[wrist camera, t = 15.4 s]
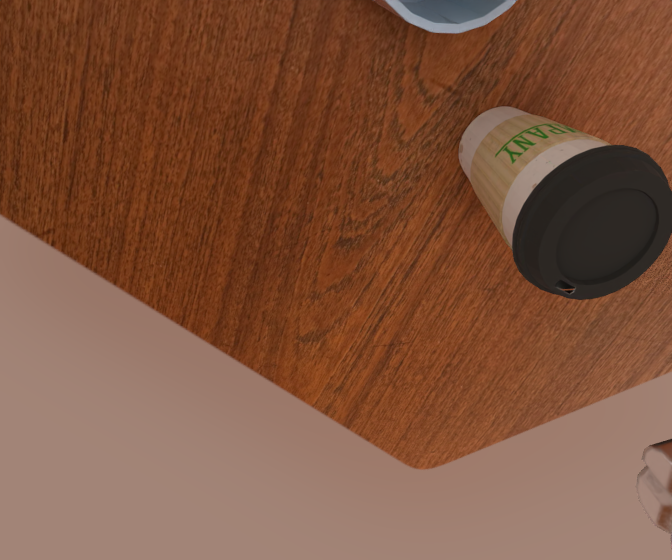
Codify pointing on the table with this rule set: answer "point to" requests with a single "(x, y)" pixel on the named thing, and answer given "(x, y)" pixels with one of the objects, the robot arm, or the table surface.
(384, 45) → the table surface
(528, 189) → the coffee cup
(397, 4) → the tumbler
